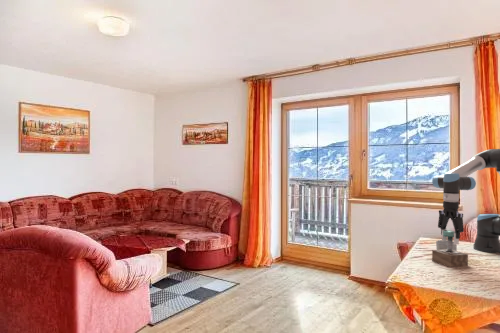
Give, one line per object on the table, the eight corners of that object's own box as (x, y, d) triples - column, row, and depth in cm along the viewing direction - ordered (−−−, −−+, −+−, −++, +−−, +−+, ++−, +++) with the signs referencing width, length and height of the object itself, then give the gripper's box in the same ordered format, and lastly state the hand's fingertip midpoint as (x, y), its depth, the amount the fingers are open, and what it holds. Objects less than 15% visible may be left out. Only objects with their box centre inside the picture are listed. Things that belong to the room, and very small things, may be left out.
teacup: (459, 258, 198) (459, 244, 197) (439, 256, 200) (439, 243, 200) (450, 252, 211) (450, 239, 211) (431, 251, 213) (431, 238, 213)
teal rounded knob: (439, 258, 190) (439, 230, 189) (449, 257, 192) (449, 230, 191) (450, 261, 183) (450, 233, 183) (460, 260, 185) (460, 232, 185)
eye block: (448, 259, 195) (448, 248, 195) (467, 265, 183) (468, 253, 183) (432, 260, 191) (432, 249, 191) (450, 267, 180) (450, 255, 180)
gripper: (430, 199, 195) (430, 239, 196) (461, 203, 176) (460, 247, 177) (441, 199, 198) (440, 238, 198) (472, 203, 179) (471, 246, 179)
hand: (450, 242), depth 187 cm, fingers closed on teal rounded knob, 7 cm apart
